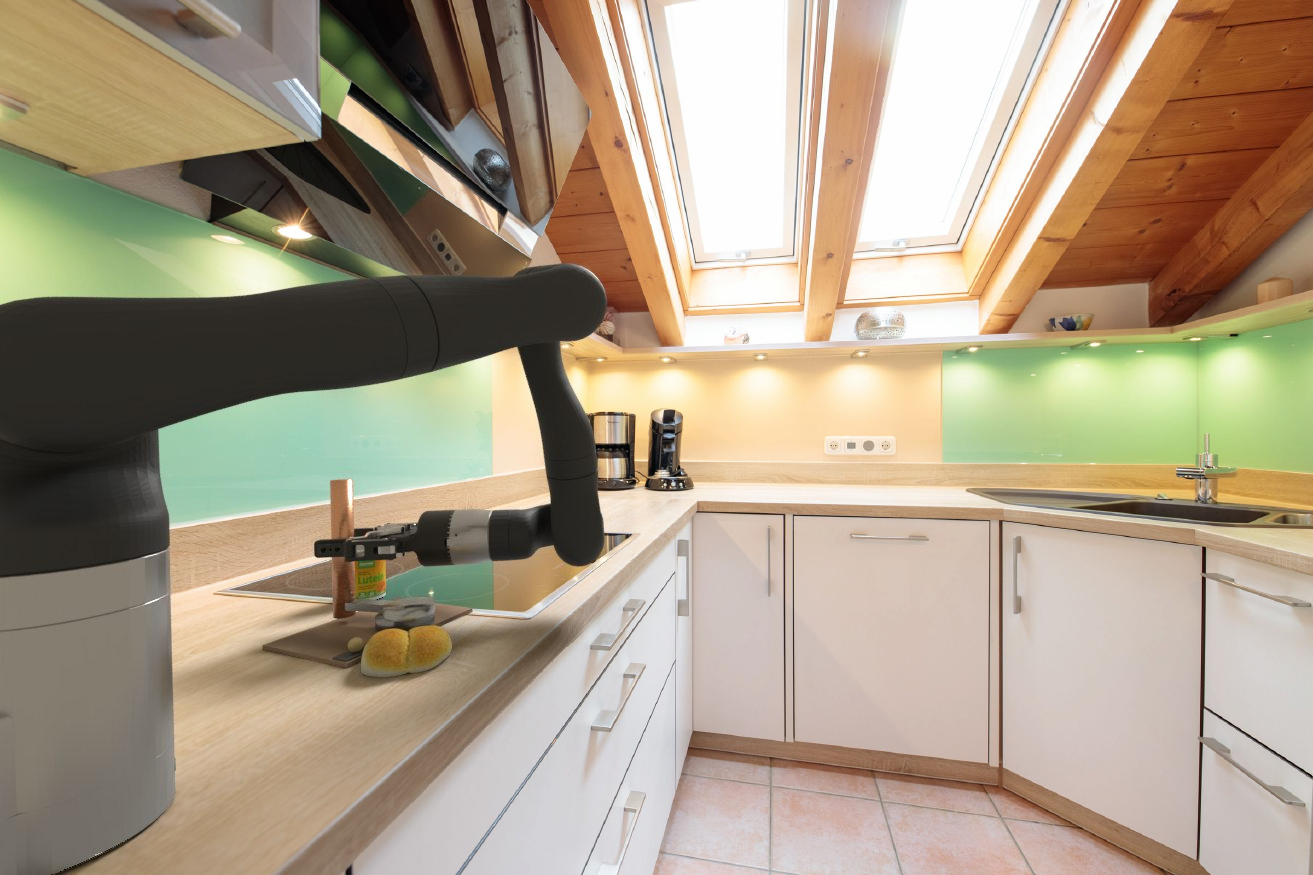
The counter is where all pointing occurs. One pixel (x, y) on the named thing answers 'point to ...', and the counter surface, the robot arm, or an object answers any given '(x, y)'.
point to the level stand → (346, 637)
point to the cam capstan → (343, 575)
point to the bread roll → (405, 651)
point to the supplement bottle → (370, 578)
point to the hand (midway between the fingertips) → (331, 542)
